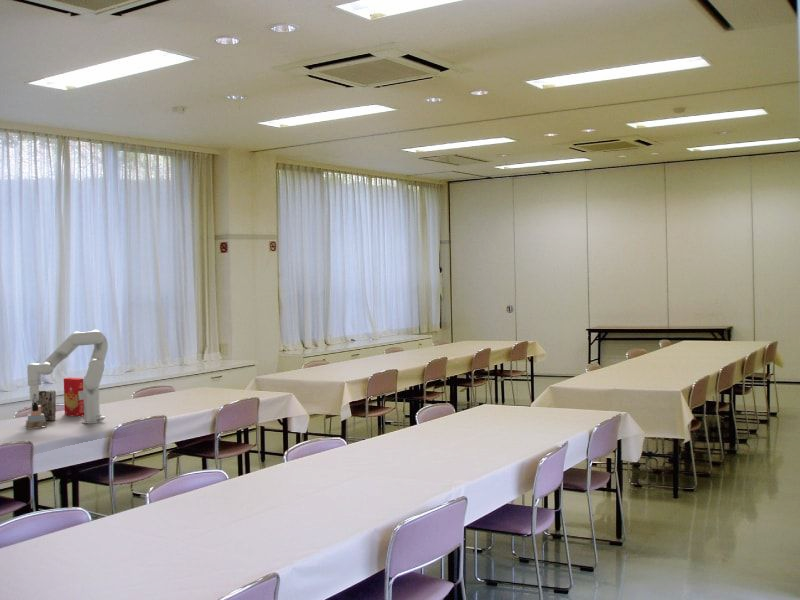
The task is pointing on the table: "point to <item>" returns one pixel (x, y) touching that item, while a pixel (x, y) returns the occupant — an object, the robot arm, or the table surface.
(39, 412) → the terracotta cube
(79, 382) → the food packaging
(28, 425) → the tower base slab
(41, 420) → the tower top slab
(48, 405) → the stone block
